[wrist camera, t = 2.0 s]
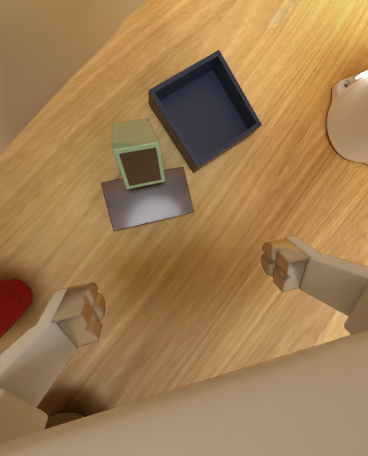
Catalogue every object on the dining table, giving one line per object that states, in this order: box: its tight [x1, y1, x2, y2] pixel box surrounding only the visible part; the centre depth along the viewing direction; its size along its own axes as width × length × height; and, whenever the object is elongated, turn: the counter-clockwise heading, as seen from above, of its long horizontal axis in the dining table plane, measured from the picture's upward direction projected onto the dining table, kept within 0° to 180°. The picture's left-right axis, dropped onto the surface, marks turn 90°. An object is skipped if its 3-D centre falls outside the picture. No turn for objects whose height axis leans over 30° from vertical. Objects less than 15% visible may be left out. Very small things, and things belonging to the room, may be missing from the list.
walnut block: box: [101, 167, 194, 231], centre depth 27 cm, size 7×12×4 cm, turn 104°
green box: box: [112, 118, 165, 189], centre depth 24 cm, size 10×5×10 cm, turn 14°
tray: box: [148, 50, 262, 173], centre depth 29 cm, size 13×13×3 cm
